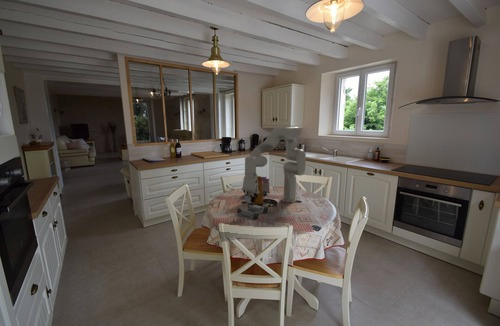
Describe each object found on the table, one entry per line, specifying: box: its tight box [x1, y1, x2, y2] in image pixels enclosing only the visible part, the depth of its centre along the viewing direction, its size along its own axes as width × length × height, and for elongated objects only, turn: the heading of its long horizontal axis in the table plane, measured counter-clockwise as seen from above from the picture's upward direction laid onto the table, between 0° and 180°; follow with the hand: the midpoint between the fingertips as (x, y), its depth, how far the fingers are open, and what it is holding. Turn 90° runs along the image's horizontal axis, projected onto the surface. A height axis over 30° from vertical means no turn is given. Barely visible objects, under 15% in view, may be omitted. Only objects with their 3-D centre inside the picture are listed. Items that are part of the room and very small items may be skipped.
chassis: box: [236, 202, 269, 220], centre depth 156 cm, size 18×15×4 cm
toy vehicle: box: [261, 176, 270, 196], centre depth 192 cm, size 9×20×15 cm, turn 107°
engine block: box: [244, 193, 252, 204], centre depth 151 cm, size 6×4×5 cm
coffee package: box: [248, 175, 264, 206], centre depth 173 cm, size 10×12×22 cm
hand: (250, 200), depth 152 cm, fingers closed on engine block, 4 cm apart
